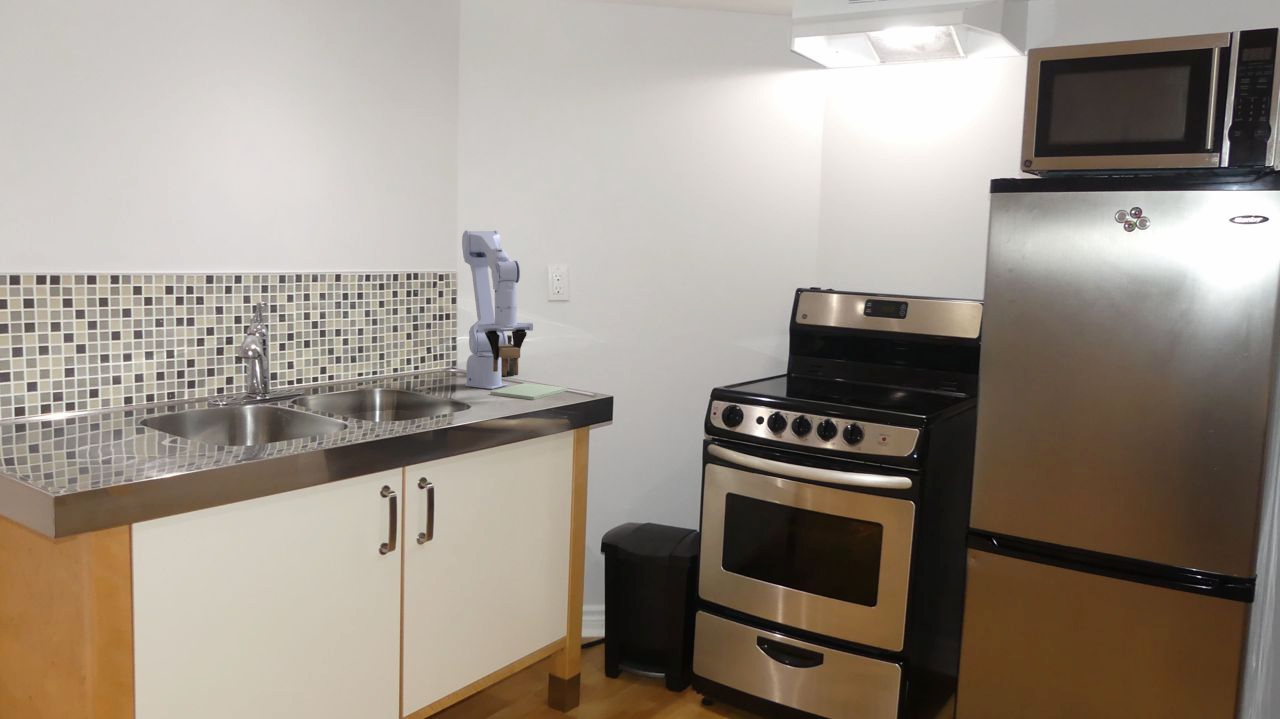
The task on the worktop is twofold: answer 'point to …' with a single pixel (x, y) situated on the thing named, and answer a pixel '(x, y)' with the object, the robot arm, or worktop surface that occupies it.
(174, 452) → the worktop surface
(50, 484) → the worktop surface
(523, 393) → the sage board
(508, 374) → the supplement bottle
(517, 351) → the walnut stool
